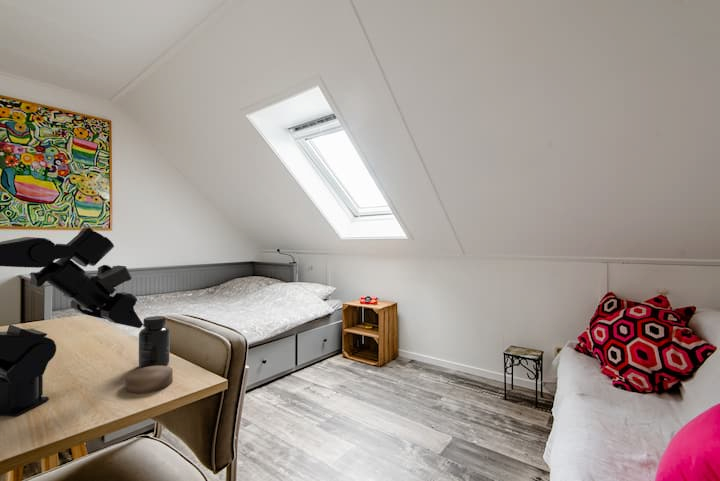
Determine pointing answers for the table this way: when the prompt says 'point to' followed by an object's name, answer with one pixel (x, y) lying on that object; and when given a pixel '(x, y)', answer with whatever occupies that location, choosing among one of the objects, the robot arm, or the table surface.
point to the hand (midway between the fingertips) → (130, 323)
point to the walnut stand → (148, 379)
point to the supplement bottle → (154, 342)
